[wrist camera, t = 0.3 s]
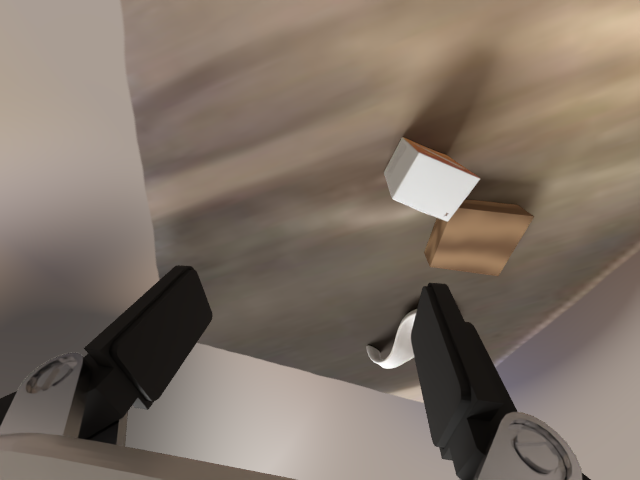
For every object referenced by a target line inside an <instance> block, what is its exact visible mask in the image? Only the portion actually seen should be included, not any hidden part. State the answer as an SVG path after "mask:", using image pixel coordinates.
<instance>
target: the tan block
mask: <svg viewBox="0 0 640 480" xmlns="http://www.w3.org/2000/svg"><path fill="white" fill-rule="evenodd" d="M533 218H534V216H533V215H531V214H530V213H528V212H527V211H525V210H524V209H523V208H521V207H520V206H518V205H515V204H506V203H496V202H487V201H478V200H469V199H465V200H464V201H463V203H462V204H461V205H460V206H459V208H458V209H457V210H456V212H455V213H454V214H453V216H452V217H451V218H450V220H449V221H448V222H447V221H444V220H442V219H439V218H437V219H436V222H435V225H434V227H433V230H432V233H431V236H430V238H429V241H428V244H427V247H426V249H425V252H424V253H425V256H426V258H427V261H428V263H429V265H430V267H435V268H443V269H450V270H457V271H465V272H472V273H480V274H487V275H494V276H499V274H500V272H501V271H502V269H503V267H504V266H505V264H506V262H507V261H508V259H509V257H510V256H511V254H512V252H513V251H514V249H515V247H516V246H517V244H518V242H519V241H520V239H521V237H522V236H523V234H524V232H525V231H526V229H527V227H528V226H529V224H530V222H531V221H532V219H533Z"/></svg>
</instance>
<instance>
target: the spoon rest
mask: <svg viewBox="0 0 640 480" xmlns="http://www.w3.org/2000/svg"><path fill="white" fill-rule="evenodd" d="M416 312H417V309H415V310H413V311H411V312H409V313H408V314H407V315H406V316H405V317H404V318H403V319H402V321H401V323H400V325H399V328H398V331H397V334H396V338H395V341H394V345H393V348H392V351H391V353H390V355H389V356H388V357H387V358H386V359H383V360H381V355H380V351H379V350H377V349H376V348H374V347H372V346H370V345H368V346H367V352H368V355H369V357H370V358H371V360H372V361H373V362H375V363H377V364H379V365H380V366H381V367H383V368H387V369H389V368H395V367H398V366H400V365H401V364H403V363H405V362H407V361H409V360H410V359H412V358H414V353H413V348H412V343H411V331H412V327H413V323H414V320H415V316H416Z"/></svg>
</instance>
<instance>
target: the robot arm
mask: <svg viewBox="0 0 640 480" xmlns="http://www.w3.org/2000/svg"><path fill="white" fill-rule="evenodd" d="M211 320H212V311H211V309H210V306H209V303H208V300H207V298H206V295H205V292H204V290H203V287H202V284H201V282H200V279H199V276H198V274H197V272H196V271H195V270H194V269H193V267H191V266H179V265H178V266H175V267H174V268H173V269H172V270H170V271H169V272H168V273H167V274H166V275H165V276H164V277H163V278H162V279H160V280H159V281H158V282H157V283H156V284H155V285H154V286H153V287H152V288H150V290H148V291H147V292H146V293H145V294H144V295H143V296H142V297H140V298H139V299H138V300H137V301H136V302H135V303H134V304H133V305H132V306H131V307H129V308H128V309H127V310H126V311H125V312H124V313H123V314H122V315H120V316H119V317H118V318H117V319H116V320H115V321H114V322H113V323H112V324H110V325H109V326H108V327H107V328H106V329H105V330H104V331H103V332H102V333H100V334H99V335H98V336H97V337H96V338H95V339H94V340H93V341H92V342H90V343H89V344H88V345H87V346H86V347H85V348H84V349H85V350H86V351H87V352H88V354H87V355H86V356H85V357H83V356H82V355H81V354H80V353H76V352H72V353H66V354H63V355H59V356H57V357H55V358H53V359H50V360H49V361H47V362H45V363H44V364H42V365H40V366H39V367H38V368H36V369H35V370H34V371H33V372H31V373H30V374H29V375H28V377H26V378H25V379H24V380H23V382H22V384H21V385H20V387H19V388H18V390H17V391H16V392H14V393H12V394H10V395H7V396H5V397H3V398H1V399H0V480H295V479H291V478H286V477H281V476H276V475H271V474H265V473H260V472H255V471H250V470H245V469H240V468H234V467H229V466H224V465H219V464H214V463H209V462H203V461H198V460H193V459H188V458H183V457H177V456H172V455H167V454H162V453H156V452H151V451H145V450H140V449H135V448H130V447H125V441H126V427H127V416H128V410H129V409H130V407H131V406H132V405H133V406H134V407H135V408H140V409H146V410H148V409H149V407H150V406H151V405H152V403H153V402H154V401H155V400H157V399H158V398H159V397H160V396H161V395H162V393H163V392H164V390H165V389H166V387H167V386H168V384H169V383H170V381H171V380H172V378H173V377H174V375H175V374H176V372H177V371H178V369H179V368H180V366H181V365H182V363H183V362H184V360H185V359H186V357H187V356H188V354H189V353H190V352H191V350H192V349H193V347H194V346H195V344H196V343H197V341H198V340H199V338H200V337H201V335H202V334H203V332H204V331H205V329H206V328H207V326H208V325H209V323H210V322H211ZM411 343H412V348H413V353H414V357H415V362H416V367H417V372H418V376H419V381H420V386H421V390H422V395H423V400H424V404H425V409H426V413H427V418H428V423H429V428H430V432H431V437H432V440H433V444H434V445H435V446H436V447H439V448H440V452H441V456H442V459H446V460H452V461H453V463H454V467H455V471H456V475H457V476H458V477H459V478H460V480H590V479H589V478H588V477H587V476H585V475H584V474H583V473H582V471H581V467H580V465H579V462H578V460H577V458H576V455H575V454H574V453H573V451H572V450H571V448H570V447H569V445H568V444H567V443H566V442H565V440H564V439H563V438H562V437H561V436H560V435H559V434H558V433H557V432H556V431H554V430H553V429H552V428H551V427H550V426H548V425H547V424H546V423H545V422H543V421H541V420H539V419H537V418H535V417H534V416H531V415H528V414H525V413H522V412H517V410H516V408H515V406H514V404H513V402H512V400H511V398H510V396H509V394H508V392H507V390H506V388H505V386H504V384H503V382H502V380H501V378H500V376H499V374H498V372H497V370H496V368H495V366H494V364H493V362H492V360H491V359H490V357H489V355H488V353H487V351H486V349H485V347H484V345H483V343H482V341H481V339H480V337H479V335H478V333H477V331H476V329H475V327H474V326H473V325H472V324H471V323H469V322H465V321H464V319H463V317H462V315H461V313H460V311H459V309H458V307H457V305H456V302H455V300H454V298H453V296H452V294H451V292H450V290H449V288H448V286H447V285H446V284H439V283H429V284H428V286H427V287H426V286H424V287H423V288H422V292H421V296H420V300H419V304H418V308H417V312H416V316H415V320H414V323H413V327H412V331H411Z"/></svg>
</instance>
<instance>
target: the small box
mask: <svg viewBox="0 0 640 480" xmlns="http://www.w3.org/2000/svg"><path fill="white" fill-rule="evenodd" d="M384 174H385V177H386V181H387V184H388V187H389V190H390V193H391V197H392V199H393V200H395V201H397V202H400V203H402V204H404V205H407V206H409V207H412V208H414V209H416V210H418V211H420V212H423V213H425V214H428V215H431V216H434V217H436V218H439V219H442V220H444V221H447V222H448V221H449V220H450V218H451V217H452V216H453V214H454V213H455V212H456V210H457V209H458V208H459V206H460V205H461V204H462V203H463V201H464V200H465V199H466V197H467V196H468V194H469V193H470V192H471V191H472V189H473V188H474V187H475V185H476V184H477V183H478V181H479V180H480V177H478V176H477V175H475V174H473V173H472V172H470V171H469V170H468V169H466V168H465V167H463V166H462V165H460V164H459V163H457V162H456V161H454V160H453V159H452V158H450V157H449V156H447V155H445V154H442V153H439V152H437V151H434V150H432V149H429V148H427V147H425V146H422V145H420V144H418V143H415V142H413V141H411V140H409V139H406V138H404V137H402V138H401V140H400V142H399V144H398V146H397V148H396V150H395V152H394V154H393V156H392V158H391V160H390V162H389V164H388V165H387V167H386V169H385V171H384Z"/></svg>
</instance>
